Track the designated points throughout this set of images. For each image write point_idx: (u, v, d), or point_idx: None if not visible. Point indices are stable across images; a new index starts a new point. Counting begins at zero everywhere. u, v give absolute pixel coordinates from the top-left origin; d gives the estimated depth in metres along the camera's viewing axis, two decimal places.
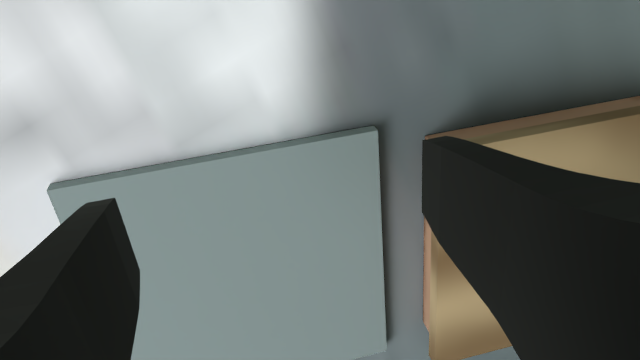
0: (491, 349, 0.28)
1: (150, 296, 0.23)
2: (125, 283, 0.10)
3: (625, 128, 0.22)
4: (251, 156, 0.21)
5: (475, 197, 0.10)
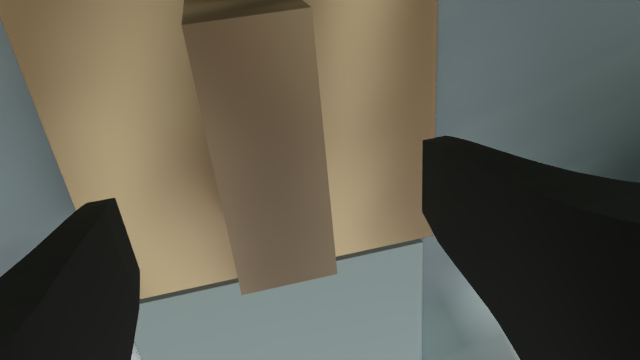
0: None
1: None
2: (125, 283, 0.10)
3: (44, 74, 0.15)
4: None
5: (475, 197, 0.10)
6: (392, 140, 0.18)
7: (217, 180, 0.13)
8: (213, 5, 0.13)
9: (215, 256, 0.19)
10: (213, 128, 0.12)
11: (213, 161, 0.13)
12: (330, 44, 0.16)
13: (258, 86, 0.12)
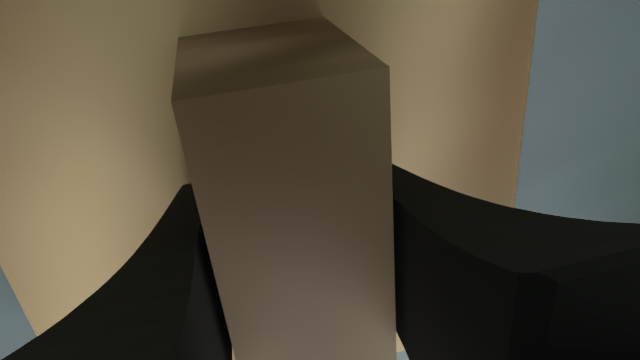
0: None
1: None
2: None
3: None
4: None
5: None
6: None
7: (229, 325, 0.08)
8: (222, 53, 0.08)
9: None
10: (223, 255, 0.08)
11: (223, 300, 0.08)
12: None
13: (298, 189, 0.08)
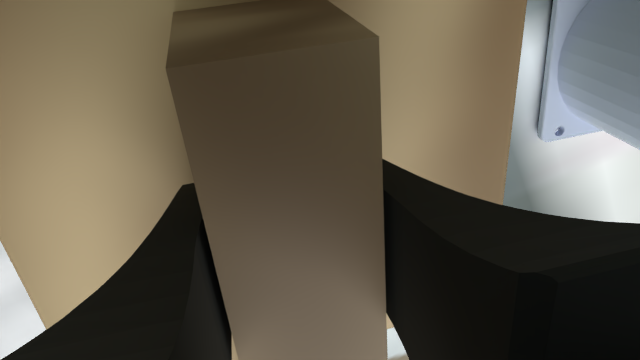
0: None
1: None
2: None
3: None
4: None
5: None
6: None
7: (223, 291, 0.09)
8: (216, 25, 0.09)
9: None
10: (218, 221, 0.08)
11: (217, 267, 0.08)
12: None
13: (289, 158, 0.08)
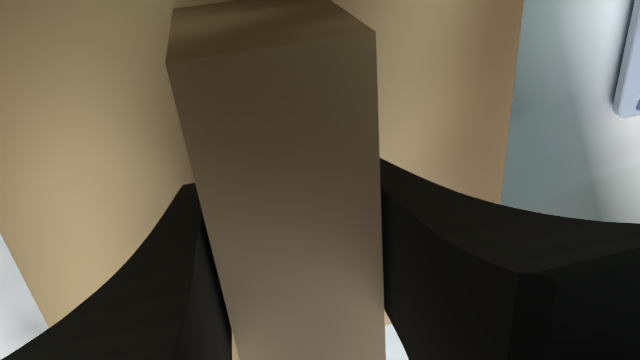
0: None
1: None
2: None
3: None
4: None
5: None
6: None
7: (222, 284, 0.09)
8: (216, 21, 0.09)
9: None
10: (217, 215, 0.08)
11: (216, 260, 0.08)
12: None
13: (287, 152, 0.08)
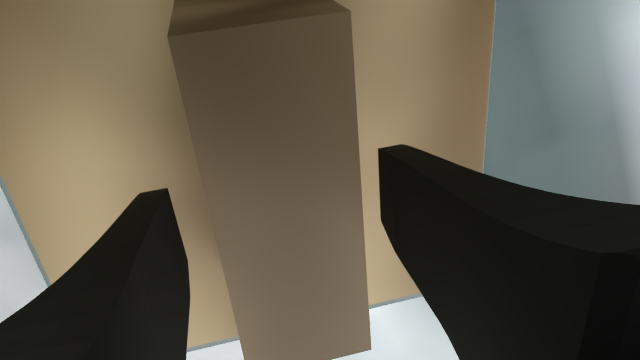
0: None
1: None
2: (179, 271, 0.10)
3: None
4: None
5: (423, 208, 0.10)
6: None
7: (218, 242, 0.10)
8: (212, 7, 0.10)
9: (215, 311, 0.16)
10: (213, 176, 0.09)
11: (213, 219, 0.09)
12: (360, 56, 0.13)
13: (275, 119, 0.09)
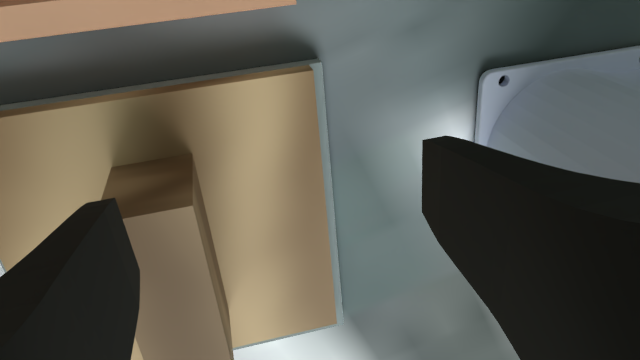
0: (329, 272, 0.23)
1: None
2: (125, 283, 0.10)
3: (1, 225, 0.19)
4: None
5: (475, 197, 0.10)
6: (293, 255, 0.22)
7: None
8: (127, 186, 0.17)
9: None
10: None
11: None
12: (234, 190, 0.20)
13: (156, 257, 0.16)
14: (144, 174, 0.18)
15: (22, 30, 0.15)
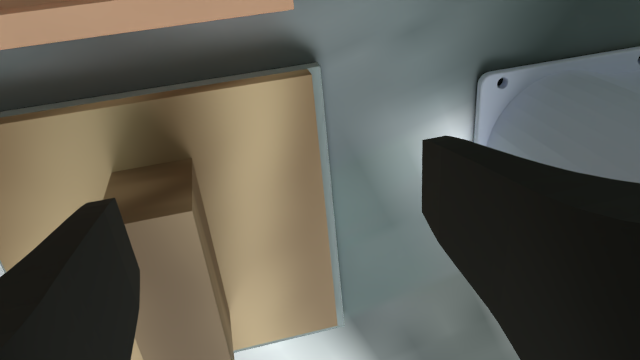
0: (329, 274, 0.23)
1: None
2: (125, 283, 0.10)
3: (3, 230, 0.19)
4: None
5: (475, 197, 0.10)
6: (293, 258, 0.22)
7: None
8: (127, 191, 0.17)
9: None
10: None
11: None
12: (233, 194, 0.20)
13: (157, 262, 0.16)
14: (144, 179, 0.18)
15: (22, 38, 0.15)
